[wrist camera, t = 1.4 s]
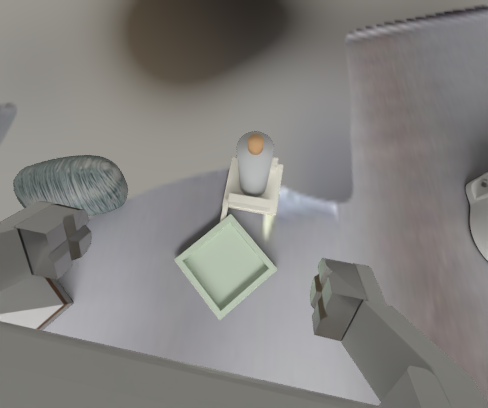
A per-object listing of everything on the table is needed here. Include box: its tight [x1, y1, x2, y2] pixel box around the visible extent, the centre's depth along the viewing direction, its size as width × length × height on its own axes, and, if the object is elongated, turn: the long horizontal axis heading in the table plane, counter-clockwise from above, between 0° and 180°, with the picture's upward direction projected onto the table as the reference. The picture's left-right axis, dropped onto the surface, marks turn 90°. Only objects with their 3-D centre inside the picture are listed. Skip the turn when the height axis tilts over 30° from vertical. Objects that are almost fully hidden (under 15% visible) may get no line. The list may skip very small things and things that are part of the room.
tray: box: [174, 214, 277, 320], centre depth 37 cm, size 10×10×2 cm
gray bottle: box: [237, 131, 274, 197], centre depth 34 cm, size 4×4×14 cm
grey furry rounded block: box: [13, 155, 128, 216], centre depth 38 cm, size 14×10×10 cm
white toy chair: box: [220, 157, 283, 229], centre depth 39 cm, size 8×11×3 cm
